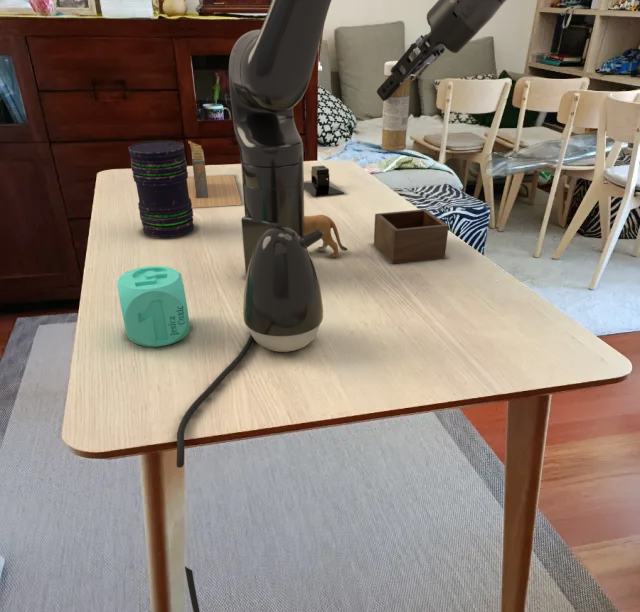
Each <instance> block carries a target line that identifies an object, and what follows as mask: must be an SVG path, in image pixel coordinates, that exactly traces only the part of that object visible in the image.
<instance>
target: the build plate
mask: <svg viewBox="0 0 640 612" xmlns="http://www.w3.org/2000/svg"><path fill="white" fill-rule="evenodd" d="M310 178H311V179H310V180H304V191H306V192H307V193H309V195H310V196H312V197H313V198H320V197H322V198H323V197H332V196H339V195H345V192H344V191H343V190H342V189H340V188H339V187H337V186H335V184H333V183H332V182H331V181H330V169H329V168H328V167H326V166H325V165H313V166H311V170H310Z"/></svg>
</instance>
